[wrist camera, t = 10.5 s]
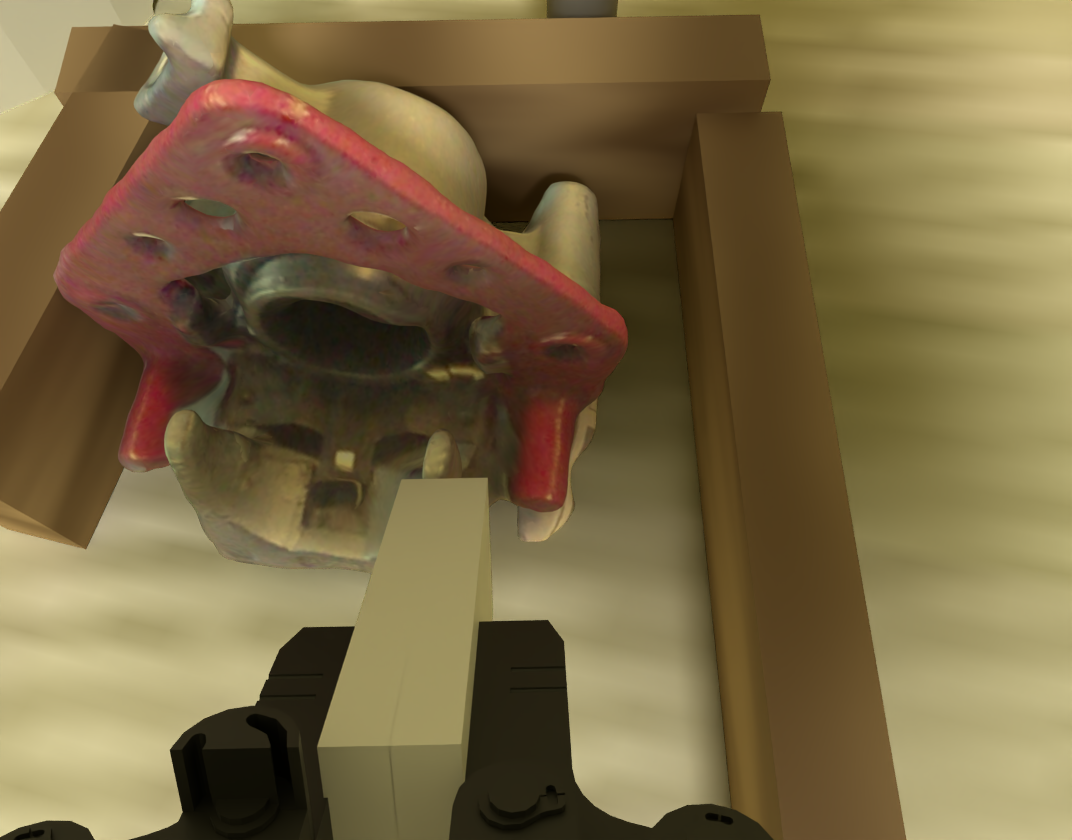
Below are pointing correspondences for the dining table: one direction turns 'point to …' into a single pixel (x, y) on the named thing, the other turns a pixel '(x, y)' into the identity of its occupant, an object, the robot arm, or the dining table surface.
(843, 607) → the brown wooden bar frame
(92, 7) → the grey ring base
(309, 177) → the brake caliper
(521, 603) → the dining table surface
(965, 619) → the dining table surface
